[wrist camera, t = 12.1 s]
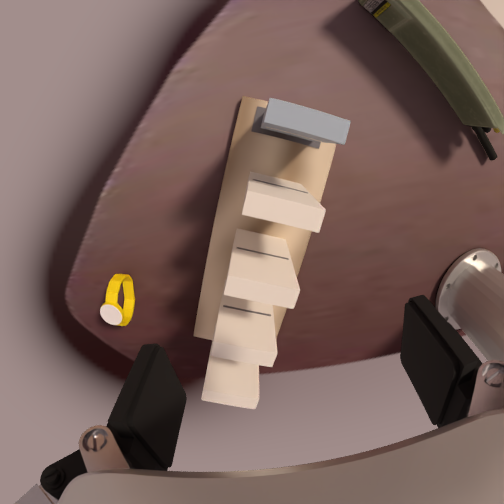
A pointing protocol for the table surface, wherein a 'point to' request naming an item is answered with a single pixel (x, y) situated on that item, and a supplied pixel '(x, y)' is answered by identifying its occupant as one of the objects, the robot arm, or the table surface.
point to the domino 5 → (231, 382)
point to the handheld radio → (441, 64)
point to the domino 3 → (261, 270)
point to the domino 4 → (245, 331)
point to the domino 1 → (304, 122)
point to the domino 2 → (282, 202)
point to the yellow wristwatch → (110, 308)
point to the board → (233, 193)
